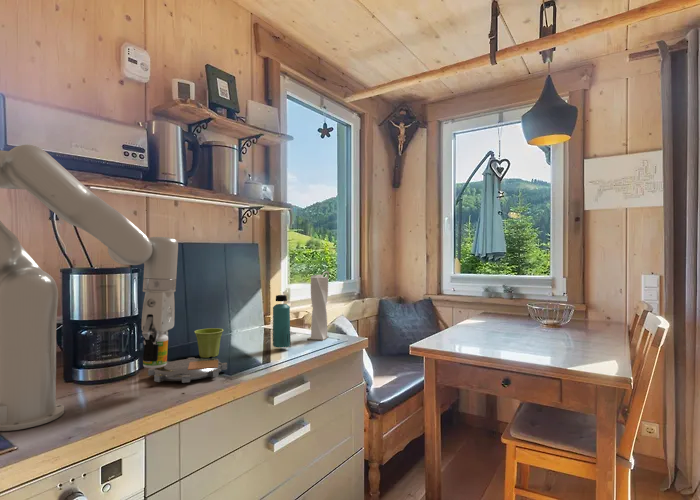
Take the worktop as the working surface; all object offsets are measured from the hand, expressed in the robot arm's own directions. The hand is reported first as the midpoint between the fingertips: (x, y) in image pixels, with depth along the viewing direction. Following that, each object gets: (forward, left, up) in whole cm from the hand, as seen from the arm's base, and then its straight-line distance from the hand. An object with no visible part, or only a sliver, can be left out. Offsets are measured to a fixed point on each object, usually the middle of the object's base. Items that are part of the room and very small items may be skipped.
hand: (155, 357), depth 102 cm
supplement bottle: (0, 0, -2) cm, 2 cm away
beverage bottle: (+51, +12, -9) cm, 53 cm away
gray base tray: (+13, +8, -9) cm, 18 cm away
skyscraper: (+74, +15, -9) cm, 76 cm away
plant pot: (+29, +24, -9) cm, 39 cm away
